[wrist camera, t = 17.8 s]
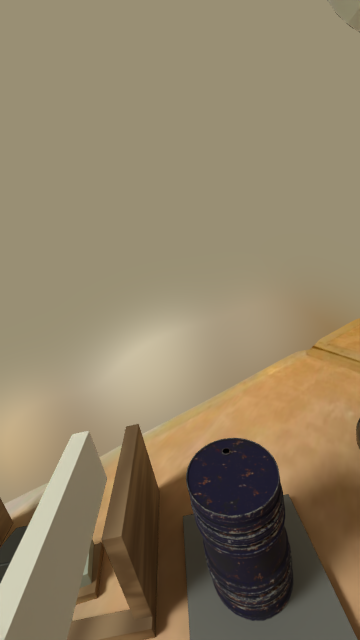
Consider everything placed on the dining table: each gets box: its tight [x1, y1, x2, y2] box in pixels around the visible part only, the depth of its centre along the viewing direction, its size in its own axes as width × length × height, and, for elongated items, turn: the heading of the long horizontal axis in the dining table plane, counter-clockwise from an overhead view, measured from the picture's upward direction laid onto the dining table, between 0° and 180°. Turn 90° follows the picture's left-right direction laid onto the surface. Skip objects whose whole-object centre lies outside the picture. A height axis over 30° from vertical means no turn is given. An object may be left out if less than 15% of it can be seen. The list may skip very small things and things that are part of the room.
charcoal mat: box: [183, 494, 358, 640], centre depth 33 cm, size 16×16×1 cm
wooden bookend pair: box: [0, 424, 159, 640], centre depth 37 cm, size 28×18×14 cm, turn 93°
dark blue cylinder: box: [186, 438, 293, 621], centre depth 31 cm, size 10×10×15 cm
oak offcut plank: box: [76, 543, 104, 605], centre depth 37 cm, size 12×6×2 cm, turn 98°
